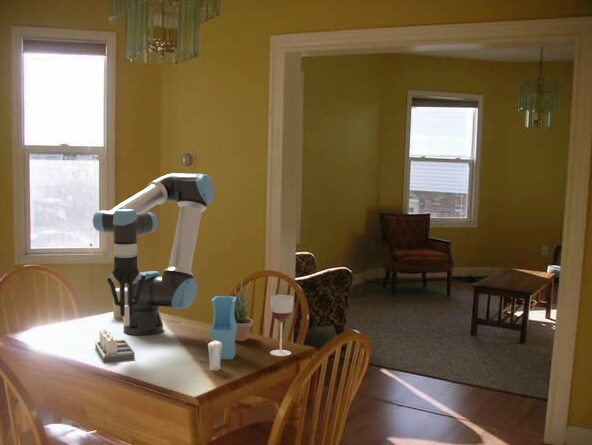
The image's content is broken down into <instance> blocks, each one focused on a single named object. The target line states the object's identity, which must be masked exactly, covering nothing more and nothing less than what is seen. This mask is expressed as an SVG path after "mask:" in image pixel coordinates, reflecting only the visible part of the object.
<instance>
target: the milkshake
mask: <svg viewBox="0 0 592 445" xmlns="http://www.w3.org/2000/svg"><path fill="white" fill-rule="evenodd" d="M205 341H206V343H207V350H208V365H209V366H208V368H209V371H212V372H217V371H220V370H221V362H222V359H221V352H222V343H221V342H219V341H213V342H212V341H210V342H209V343H208V341H207V339H205Z"/></svg>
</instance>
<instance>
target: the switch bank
mask: <svg viewBox="0 0 592 445" xmlns="http://www.w3.org/2000/svg"><path fill="white" fill-rule="evenodd" d="M94 347H95V350H96V352H97V354H98V355H99V357H100V359H101V361H102V363H110V362H120V361H121V362H122V361H131V360H135V351H134V350H133V348H132V347H131V346H130V345H129V343H128V342H127V341H126V340H125V339H117V353H114V354H107V353H106V350H103V349H102V346H101V345H100V341H95V346H94Z"/></svg>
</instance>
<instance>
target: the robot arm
mask: <svg viewBox="0 0 592 445" xmlns="http://www.w3.org/2000/svg"><path fill="white" fill-rule="evenodd" d="M215 189H216V188H215V184H214V181H213V179H212V178H211V176H210V175H209V174H206V173H205V174H204V173H200V172H199V173H198V172H197V173H193V172H192V173H190V172H187V173H186V172H172V173H168V174H165V175H163V176H160V177H157V178H156V179H153V180H152V181H150V182H149V183H148V184H147V185H146V187H145V188H144V189H143V190H141V191H139V192H137V193H136V194H134V195H132V196H131V197H129V198H127V199H125V200H124V201H122V202H121V203H119V204H118V205H116V206H114V207H112V208H111V209H108V210H105V209H104V210H97V211H96V212H95V213H94V215H93V217H92V224H93V228H94V229H95V230H96V231H97V232H103V233H113V255H114V257H113V271H112V274H110V276H109V275H108V276H106V277H105V280H106V281H107V283H108V284H109V285H108V286H109V289H110V291H111V296H112V301H113V300H114V303H115V304H116V305H118V306H120V315H121V316H123V319H122V321H123V323H122V324H123V332H124V333H125V334H128V335H134V336H150V335H151V336H152V335H156V334H160V333H162V332H163V331H164V322H163V320H162V316H161V314H160V307H162V308H163V307H164V308H170V309H171V308H173V309H176V310H177V309H187V308H189V307H190V306H191V305H193V303H194V301H195V299H196V296H197V293H198V283H197V281H196V280H195V279H194V274H193V272H192V265H193V261H194V260H193V259H194V255H195V250H196V244H197V240H198V233H199V229H200V222H201V217H202V213H203V212H205V211H206V210H207V207H208V205H209V204H212V203H213V201H214V200H215V196H216V195H215V193H216V190H215ZM166 202H177V204H176V205H177V206H178V207H179V212H178V219H177V223H176V228H175V233H174V236H173V237H174V238H173V244H172V246H171V247H172V248H171V254H170V258H169V264H168V267H167V268H165V269H164V270H163V274H162V275H161V274H160V272H159V271H157V270H150V271H141V272H140V271H139V269H138V256H137V255H138V236H142V235H143V236H144V235H149V234H151V233H153V232H155V231H156V230H157V228H158V227H159V219H158V217H157V215H156V214H155V213H153V212H150V211H149V210H151V209H152V208H154V207H155V206H157V205H162V204H164V203H166ZM115 279H116V281H117V282H118V285H119V288H120V301H118V297H117V293H116V289H115V288H116V286H115V283H114V282H115ZM125 287H127V298H128V305H125Z"/></svg>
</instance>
